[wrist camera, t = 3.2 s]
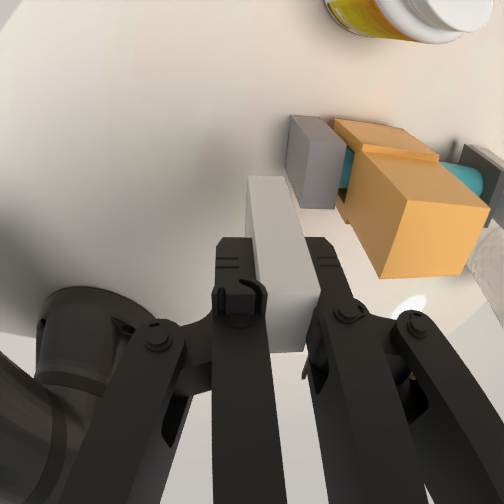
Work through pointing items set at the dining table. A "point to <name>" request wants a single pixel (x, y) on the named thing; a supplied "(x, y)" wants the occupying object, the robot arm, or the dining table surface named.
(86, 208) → the dining table surface
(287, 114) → the dining table surface
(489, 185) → the teal axle dumbbell
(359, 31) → the supplement bottle
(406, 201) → the sleeve
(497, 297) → the white cup
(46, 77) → the dining table surface
